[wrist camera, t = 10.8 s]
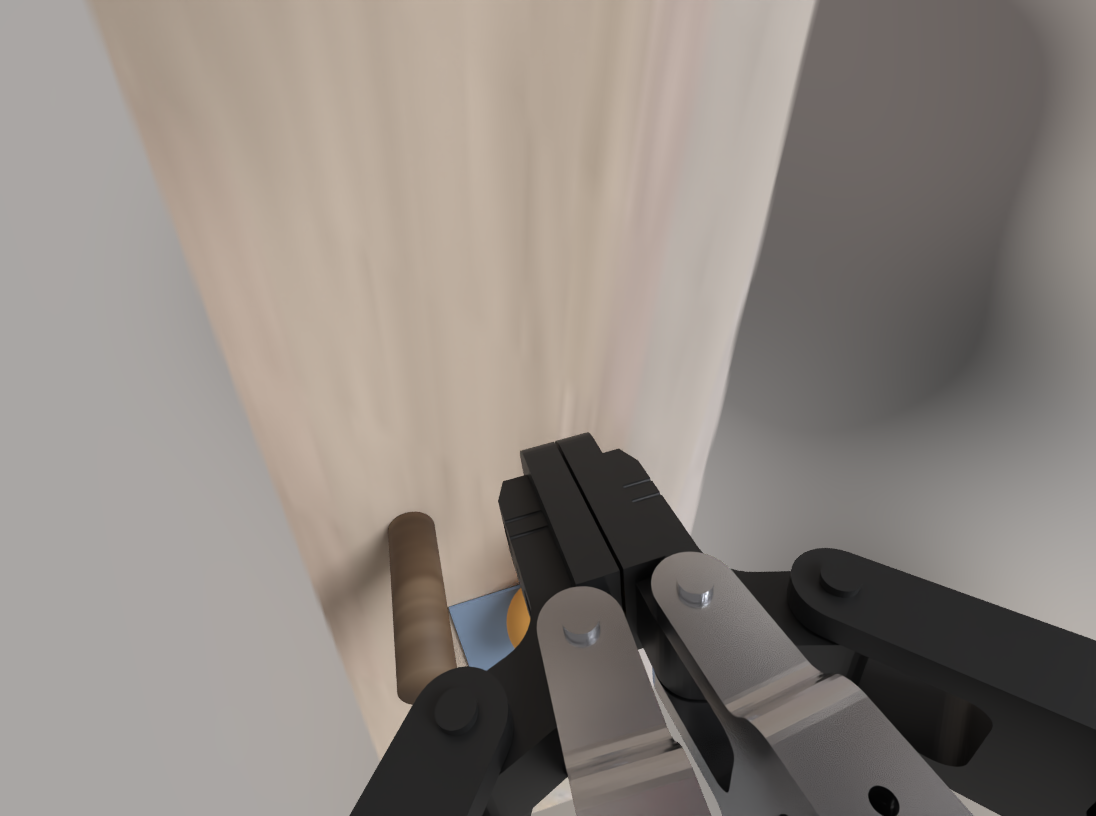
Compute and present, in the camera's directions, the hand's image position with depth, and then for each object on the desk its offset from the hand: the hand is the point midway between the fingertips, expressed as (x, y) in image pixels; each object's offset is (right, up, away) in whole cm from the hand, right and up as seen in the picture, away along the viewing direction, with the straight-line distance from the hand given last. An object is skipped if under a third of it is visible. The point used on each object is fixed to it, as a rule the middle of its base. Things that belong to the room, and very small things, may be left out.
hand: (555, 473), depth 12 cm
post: (-7, -5, +17) cm, 20 cm away
